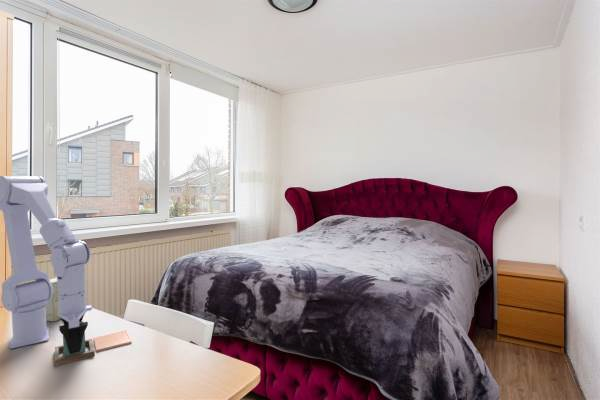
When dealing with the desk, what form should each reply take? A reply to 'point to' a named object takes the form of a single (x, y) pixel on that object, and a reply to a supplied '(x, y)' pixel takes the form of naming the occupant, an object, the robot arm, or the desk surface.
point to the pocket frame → (74, 357)
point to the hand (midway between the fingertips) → (74, 346)
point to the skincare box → (53, 303)
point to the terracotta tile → (111, 340)
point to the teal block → (66, 352)
